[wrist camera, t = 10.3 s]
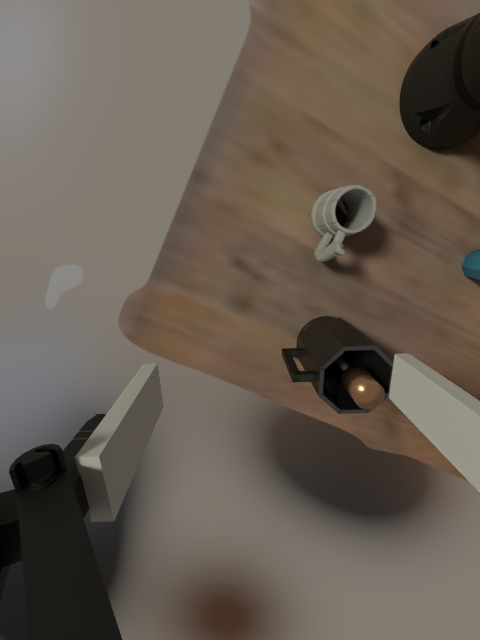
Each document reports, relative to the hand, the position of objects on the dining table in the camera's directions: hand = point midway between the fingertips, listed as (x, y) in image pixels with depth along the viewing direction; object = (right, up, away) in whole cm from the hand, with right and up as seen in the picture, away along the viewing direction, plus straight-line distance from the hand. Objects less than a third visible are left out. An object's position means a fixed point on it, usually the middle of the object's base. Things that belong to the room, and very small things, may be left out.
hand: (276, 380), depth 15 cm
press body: (+13, -1, +39) cm, 41 cm away
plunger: (+15, -2, +37) cm, 40 cm away
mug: (+13, +20, +33) cm, 40 cm away
